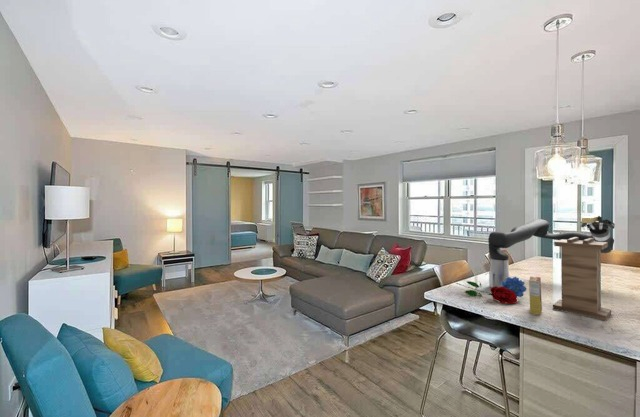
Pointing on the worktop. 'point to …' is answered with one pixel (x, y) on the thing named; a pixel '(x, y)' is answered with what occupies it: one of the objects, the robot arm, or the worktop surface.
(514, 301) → the flower
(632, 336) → the worktop surface
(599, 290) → the walnut post
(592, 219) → the bar
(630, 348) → the worktop surface
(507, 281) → the grapes
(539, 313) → the candy box
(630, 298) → the worktop surface
